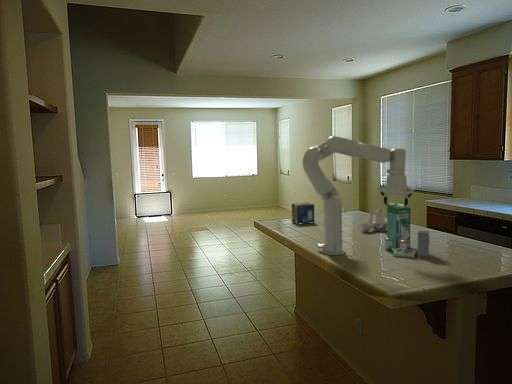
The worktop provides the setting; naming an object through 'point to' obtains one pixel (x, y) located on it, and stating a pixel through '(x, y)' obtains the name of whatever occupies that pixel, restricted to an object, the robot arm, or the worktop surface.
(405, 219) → the milk carton
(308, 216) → the protein box
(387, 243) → the clear glass jar
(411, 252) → the tray
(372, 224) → the chinaware
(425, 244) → the block
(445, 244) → the worktop surface
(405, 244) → the copper lidded jar
